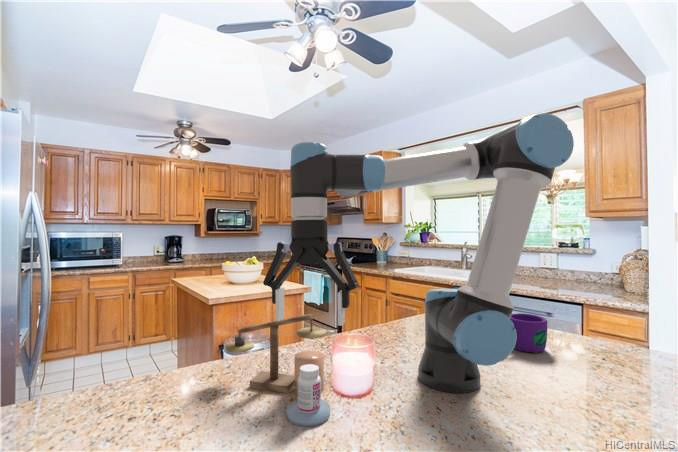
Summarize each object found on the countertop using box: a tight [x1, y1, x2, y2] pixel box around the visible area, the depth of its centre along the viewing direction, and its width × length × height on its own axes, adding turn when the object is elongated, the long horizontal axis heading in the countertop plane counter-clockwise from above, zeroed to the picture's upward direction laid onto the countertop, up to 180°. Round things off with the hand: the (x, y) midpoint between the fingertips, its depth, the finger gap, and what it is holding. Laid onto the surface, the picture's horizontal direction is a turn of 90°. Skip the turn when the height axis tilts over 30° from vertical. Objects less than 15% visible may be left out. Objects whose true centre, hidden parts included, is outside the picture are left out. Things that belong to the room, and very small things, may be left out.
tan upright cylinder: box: [293, 350, 325, 395], centre depth 84 cm, size 7×7×8 cm
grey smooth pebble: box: [286, 398, 331, 428], centre depth 73 cm, size 9×9×1 cm
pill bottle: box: [297, 364, 322, 414], centre depth 73 cm, size 5×5×8 cm
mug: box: [510, 312, 548, 353], centre depth 112 cm, size 17×11×10 cm, turn 109°
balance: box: [224, 313, 327, 394], centre depth 86 cm, size 26×7×18 cm, turn 73°
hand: (310, 321), depth 73 cm, fingers open, 13 cm apart
